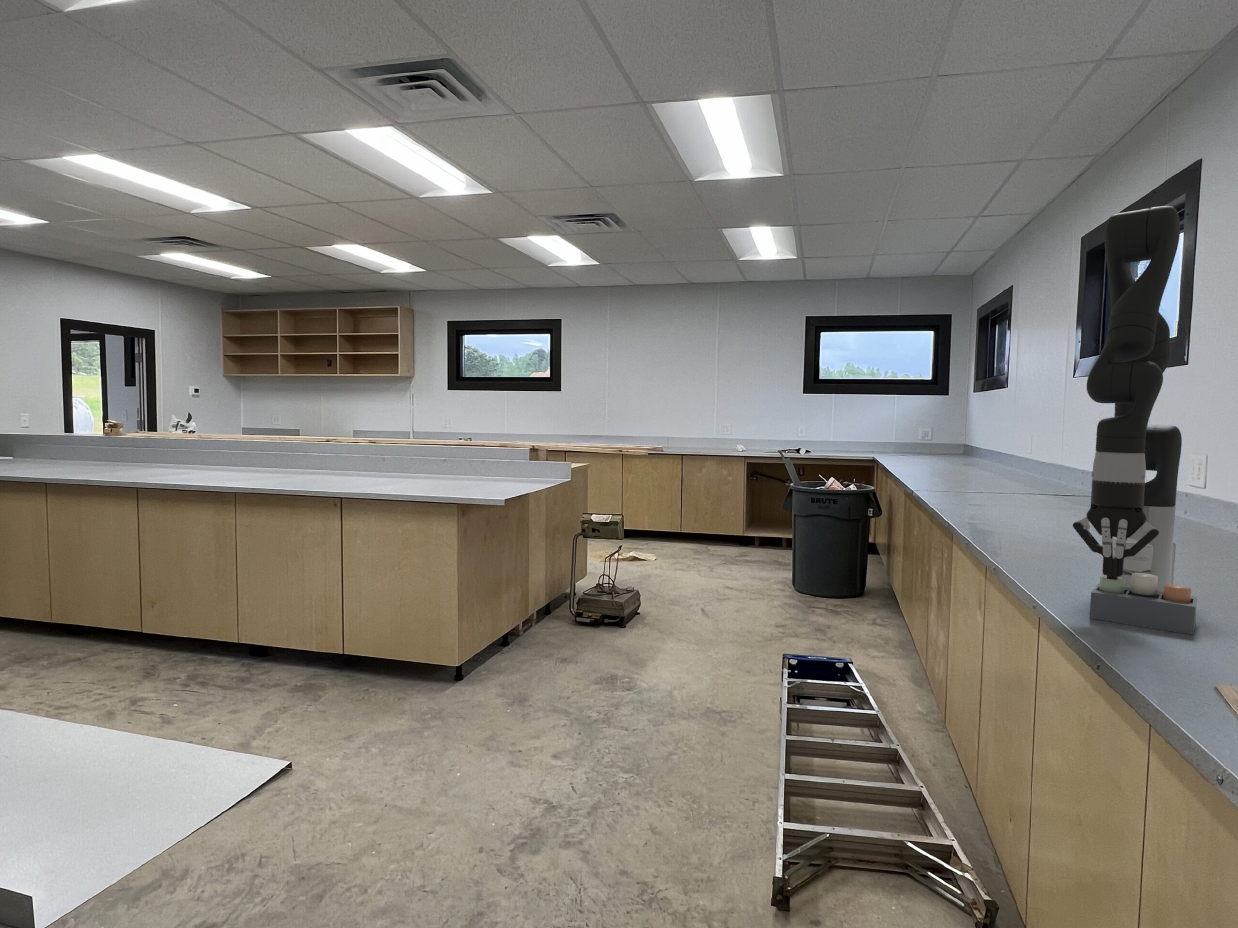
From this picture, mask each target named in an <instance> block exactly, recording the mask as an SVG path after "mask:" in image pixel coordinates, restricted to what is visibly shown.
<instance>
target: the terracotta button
mask: <svg viewBox="0 0 1238 928" xmlns="http://www.w3.org/2000/svg"><path fill="white" fill-rule="evenodd" d="M1191 596H1192V588H1191V587H1189V586H1186V585H1181V584H1180V585H1179V584H1173V585H1171V584H1167V585H1164V594H1163V600H1170V601H1177V602H1185V603H1190V602H1191Z"/></svg>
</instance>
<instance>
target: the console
mask: <svg viewBox="0 0 1238 928" xmlns="http://www.w3.org/2000/svg"><path fill="white" fill-rule="evenodd" d="M1099 585H1100V583H1098V584H1096V586H1094V588H1093V589H1092V591H1091V592H1090V607H1089V608H1090V609H1089V619H1091V620H1098V621H1106V622H1110V621H1111V623H1117V624H1123V625H1131V626H1135V627H1136V626H1137V627H1142V628H1149V629H1156V630H1162V631H1168V632H1175V633H1181V634H1187V635H1194V632H1195V627H1196V621H1197V620H1196V618H1197V617H1196V616H1197V603H1198V601H1197V600H1198V597H1197V596H1195V595H1191V602H1190V603H1185V602H1177V601H1170V600H1163V594H1164V592H1158V591H1157V595H1142V594H1137V593H1133V592H1131V588H1127V587H1125V588H1124V594H1119V593H1112V592H1105V591H1099Z"/></svg>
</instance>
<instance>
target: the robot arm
mask: <svg viewBox="0 0 1238 928" xmlns="http://www.w3.org/2000/svg"><path fill="white" fill-rule="evenodd" d="M1180 230H1181V223H1180V215H1179V213H1178V210H1177V209H1176V208H1175V207H1174V206H1171V205H1161V206H1154V207H1149V208H1144V209H1137V210H1132V211H1126V212H1120V213H1115V214H1112V215H1110V216H1109V217H1108V219H1107V220H1106V223H1105V227H1104V248H1105V260H1106V269H1107V275H1108V276H1107V277H1108V285H1109V295H1110V296H1109V297H1110V308H1111V309H1110V315H1109V319H1108V324H1107V325H1108V326H1107V331H1106V338H1105V343H1104V344H1103V348H1102V350H1101V351H1100V354H1099V356H1098V358H1097V359H1096V361H1095V362H1094V365H1092V368H1091V370H1090V372H1089V374H1088V377H1087V380H1086V391H1087V394H1088V396H1089V398H1090V399H1091V400H1092V401H1093V402H1095V403H1099V404H1114V416H1113V417H1106V418H1103V419H1101V420H1099V421H1098V423H1097V427H1096V434H1095V435H1096V439H1095V440H1096V441H1095V453H1094V458H1093V462H1092V463H1093V464H1092V471H1091V478H1092V479H1091V491H1090V492H1091V493H1090V495H1091V496H1090V497H1091V498H1090V506H1089V507H1090V508H1089V510H1087V512H1086V517H1084V518H1082V519H1080V520H1076V521H1075V522H1073V523H1072V528H1073V529H1074V530H1075V532H1076V533H1077V534H1078V535H1079V537H1080V538H1081V539H1082V540H1083V541H1084V543H1085V544H1086V545H1087V546H1088V548H1089V549H1090V551H1092V552H1093V553H1096V554H1099V555H1101V556H1102V567H1103V574H1104V575H1107V579H1113V580H1117V579H1118V577H1121V576H1122V574H1123V566H1124V558H1125V557H1129V556H1135V555H1136V554H1137V553H1138V552H1139V551H1140V550H1142V549H1143V548H1144V547H1145V546H1146V545H1147V544H1149V545H1152V546H1153V556H1152V566H1151V575H1156V576H1158V582H1157V591H1158V592H1164V585H1167V584H1171V585H1174V581H1175V564H1176V550H1177V545H1176V543H1175V542H1174V534H1175V520H1176V518H1175V517H1176V504H1177V503H1176V502H1177V491H1178V488H1177V487H1178V478H1179V476H1178V475H1179V468H1180V461H1181V455H1182V446H1183V445H1182V443H1183V441H1182V440H1183V439H1182V433H1181V430H1180V428H1179V427H1177V425H1171V424H1170V425H1169V424H1149V420H1150V417H1151V414H1152V411H1153V408H1154V405H1155V403H1156V401H1157V399H1158V398H1159V397H1158V396H1159V394H1160V392H1161V389H1162V387H1163V383H1164V373H1165V371H1166V369H1167V368H1168V367H1169V363H1170V360H1171V333H1170V326H1169V324H1168V322H1167V321H1166V319H1165V318H1164V316H1163V315H1162V314H1161V312H1160V307H1161V302H1162V299H1163V295H1164V292H1165V290H1166V286H1167V284H1168V281H1169V278H1170V275H1171V271H1172V267H1173V265H1174V261H1175V257H1176V255H1177V251H1178V246H1179V244H1180V243H1179V242H1180V235H1181V231H1180ZM1144 261H1149V263H1148V265H1147V266H1146V268H1145V269H1144V271H1143V272H1142V273H1141V274H1140V275H1139V277H1137V279H1136V280H1134V277H1133V274H1132V272H1131V268H1130V263H1137V262H1144ZM1147 471H1150V472H1154V471H1155V472H1156V474H1155V476H1154V478H1153V479H1151V480H1148V481H1146V472H1147ZM1090 524H1091V525H1090ZM1091 526H1092V527H1093V528H1094V530H1095V531H1096V532H1097V533H1098V535H1100V536H1101V544H1102V545H1101V544H1100V543H1099V542H1098V541H1097V540H1096V538H1095V537H1094V535H1092V533H1091V532H1090V531H1089V530H1090V529H1091ZM1113 537H1117V540H1116V548H1115V557H1113ZM1127 538H1132V539H1135V540H1137V541H1138V542H1137V543H1136V544H1134V545H1133V546H1132V547H1131V548H1128V549H1125V548H1126V543H1127Z"/></svg>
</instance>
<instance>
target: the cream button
mask: <svg viewBox="0 0 1238 928" xmlns="http://www.w3.org/2000/svg"><path fill="white" fill-rule="evenodd" d="M1157 582H1158V576H1156V575H1151V574H1145V573H1132V578H1131V592H1133V593H1137V594H1142V595H1157Z"/></svg>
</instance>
